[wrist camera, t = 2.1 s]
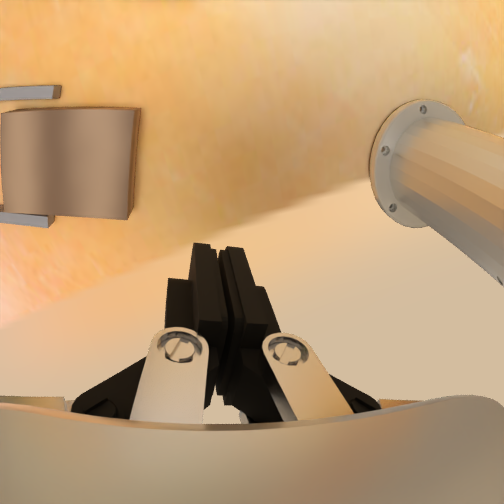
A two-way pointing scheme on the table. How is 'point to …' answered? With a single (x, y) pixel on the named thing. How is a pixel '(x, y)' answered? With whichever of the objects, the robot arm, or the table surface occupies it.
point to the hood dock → (19, 94)
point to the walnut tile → (69, 161)
